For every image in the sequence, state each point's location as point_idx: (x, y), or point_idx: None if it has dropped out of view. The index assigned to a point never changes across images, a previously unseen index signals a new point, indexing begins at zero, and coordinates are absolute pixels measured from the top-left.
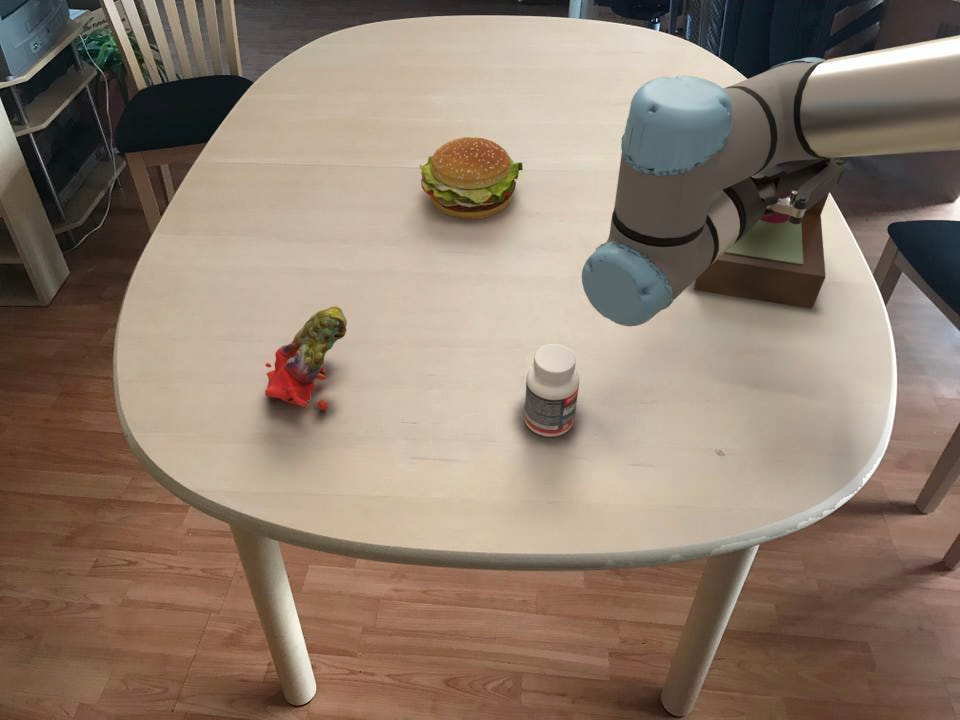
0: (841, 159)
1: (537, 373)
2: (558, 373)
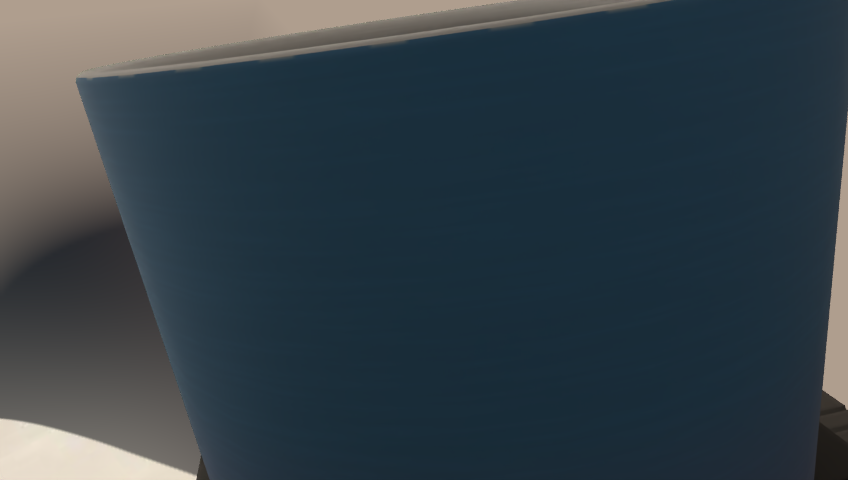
0: None
1: None
2: None
